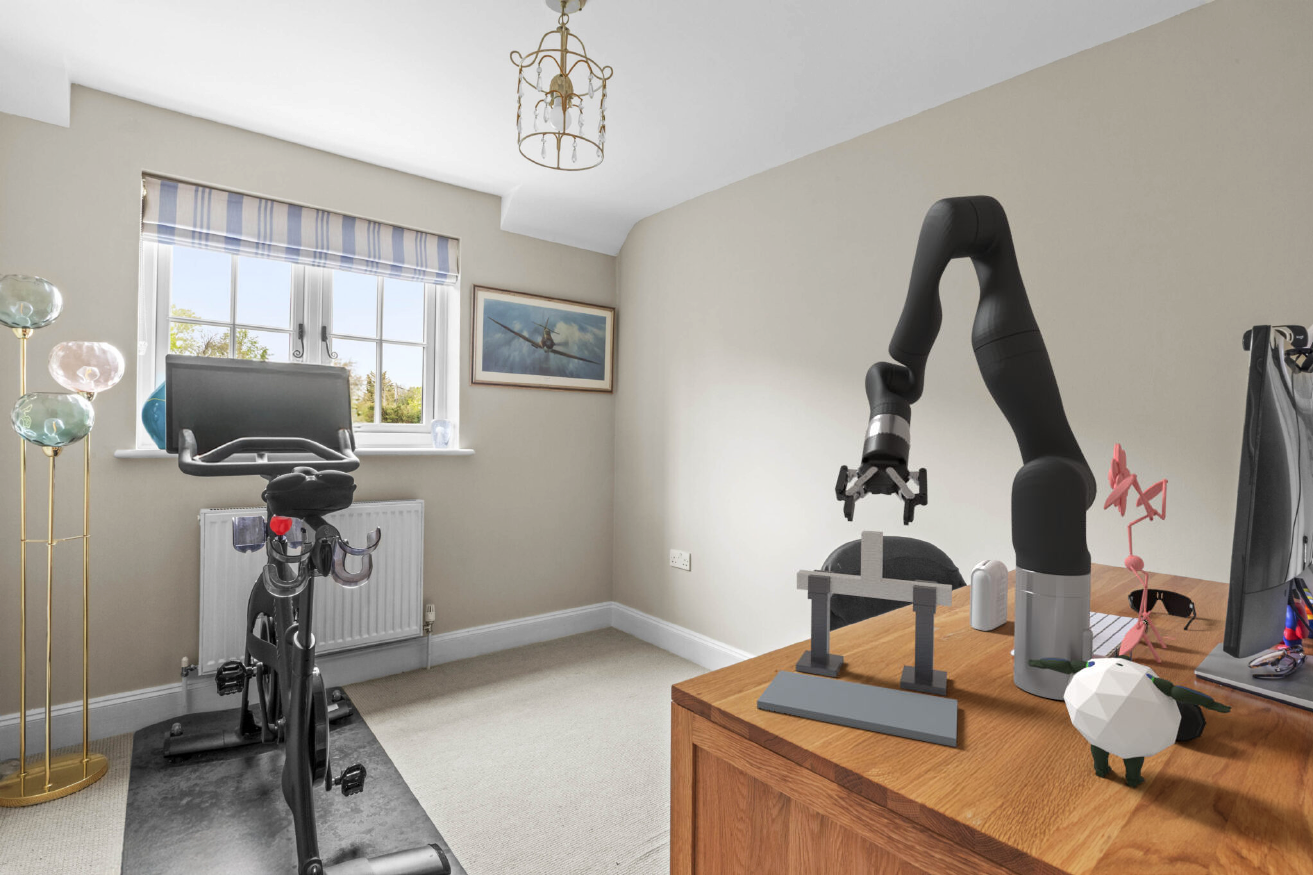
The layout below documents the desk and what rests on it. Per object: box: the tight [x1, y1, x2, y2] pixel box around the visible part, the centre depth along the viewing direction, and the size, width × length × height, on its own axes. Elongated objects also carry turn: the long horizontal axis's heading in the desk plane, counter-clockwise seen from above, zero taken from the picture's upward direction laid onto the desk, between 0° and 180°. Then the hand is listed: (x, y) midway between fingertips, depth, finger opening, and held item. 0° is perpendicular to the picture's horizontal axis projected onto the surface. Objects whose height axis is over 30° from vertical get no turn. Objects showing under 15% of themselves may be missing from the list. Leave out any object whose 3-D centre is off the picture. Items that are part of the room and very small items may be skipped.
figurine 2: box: [1028, 647, 1233, 789], centre depth 71 cm, size 18×10×13 cm, turn 44°
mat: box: [756, 670, 958, 748], centre depth 87 cm, size 24×12×1 cm, turn 65°
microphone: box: [1175, 700, 1207, 743], centre depth 86 cm, size 6×6×20 cm
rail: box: [796, 530, 953, 607], centre depth 99 cm, size 22×2×10 cm, turn 65°
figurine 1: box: [1103, 443, 1176, 663], centre depth 113 cm, size 15×26×35 cm, turn 138°
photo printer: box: [969, 558, 1009, 632], centre depth 124 cm, size 10×4×12 cm, turn 134°
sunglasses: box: [1127, 588, 1197, 631], centre depth 129 cm, size 10×12×5 cm
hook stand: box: [795, 569, 948, 696], centre depth 99 cm, size 21×7×14 cm, turn 65°
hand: (877, 520), depth 104 cm, fingers open, 8 cm apart
